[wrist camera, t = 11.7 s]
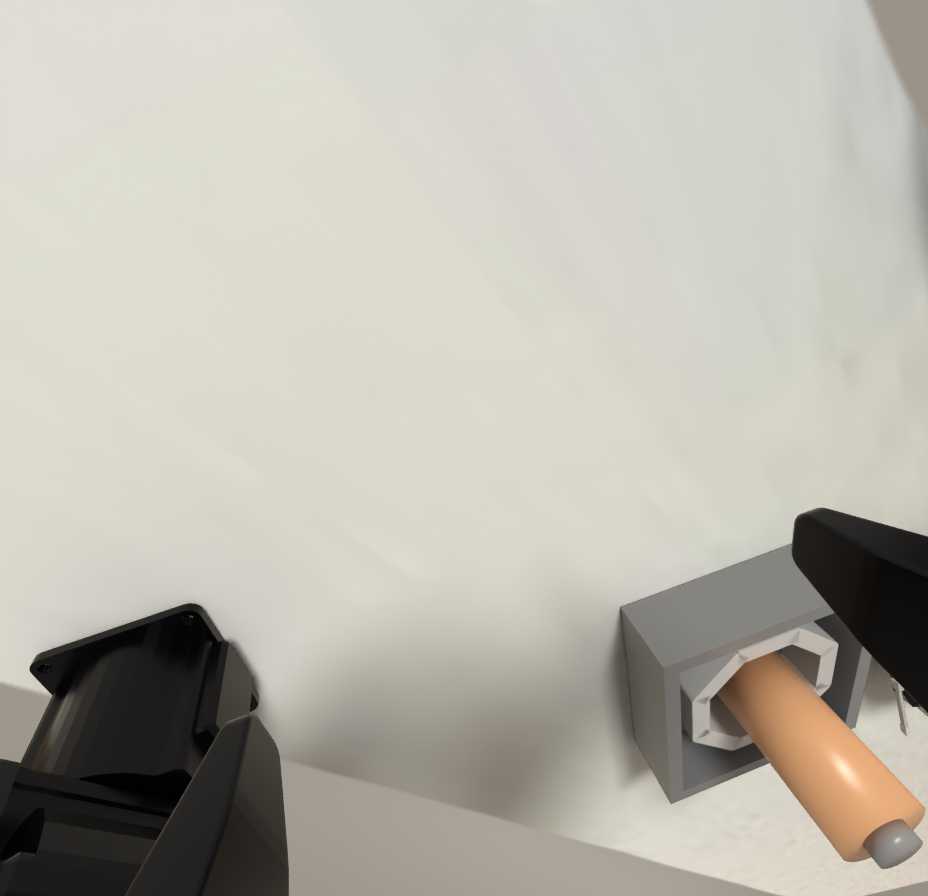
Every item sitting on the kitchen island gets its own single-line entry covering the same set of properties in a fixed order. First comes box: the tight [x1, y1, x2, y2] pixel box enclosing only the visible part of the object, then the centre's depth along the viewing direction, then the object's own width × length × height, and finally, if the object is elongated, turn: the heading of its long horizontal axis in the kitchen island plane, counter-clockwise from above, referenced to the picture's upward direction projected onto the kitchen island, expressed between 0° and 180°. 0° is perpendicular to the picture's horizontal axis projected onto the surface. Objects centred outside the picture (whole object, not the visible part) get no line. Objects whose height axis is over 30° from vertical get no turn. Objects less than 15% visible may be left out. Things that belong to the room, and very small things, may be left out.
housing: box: [621, 544, 872, 804], centre depth 30 cm, size 12×12×4 cm
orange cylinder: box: [717, 651, 925, 869], centre depth 27 cm, size 4×4×10 cm
